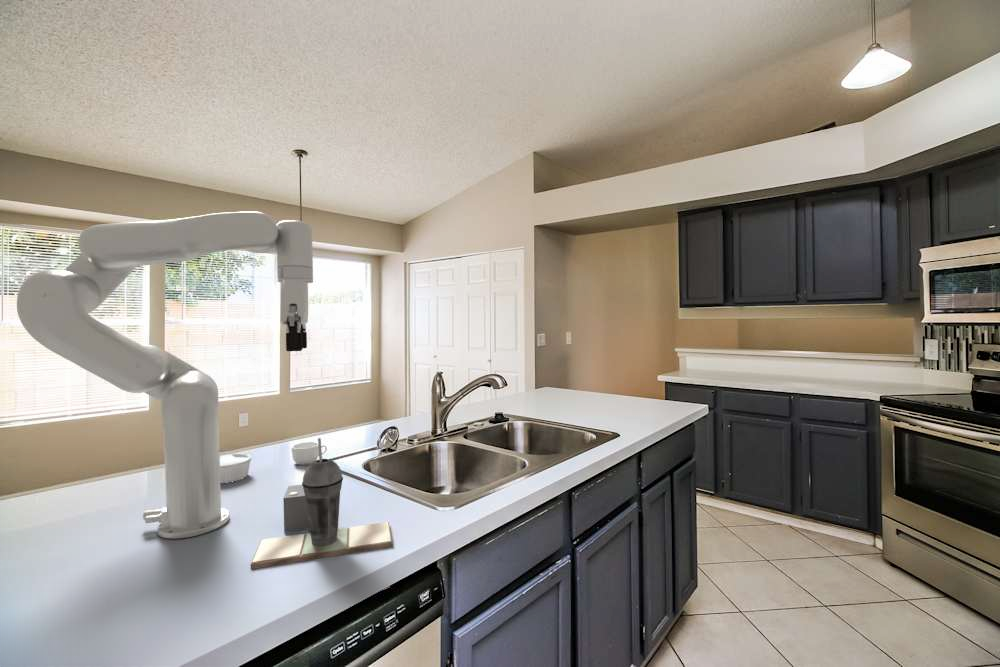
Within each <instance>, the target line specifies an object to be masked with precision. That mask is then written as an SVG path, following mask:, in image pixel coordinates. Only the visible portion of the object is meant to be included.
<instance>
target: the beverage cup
mask: <svg viewBox="0 0 1000 667" xmlns="http://www.w3.org/2000/svg"><path fill="white" fill-rule="evenodd" d="M317 442H318V447H319V456H318V458H319V459H317V460H316V461H315V462H313V463H312V464H308V466H307V468H306V470H305V471H304V474H303V477H302V483H301V485H302V486H303V489H304V493H305V496H306V504H307V512H308V520H309V528H310V529H309V533H310V536H311V540H312V544H313V545H314V546H326V545H329V544H332V543H333V542H335V541H336V539H337V531H338V529H339V517H340V516H339V515H340V503H341V502H340V500H341V490H342V484H343V480H344V478H343V473H342V470H341V468H340V466H339V465H338V463H337V462H335V461H333V460H331V459H328V458H323V454H322V452H323V451H322V448H321V445H322V439H321V438H320V437H319V438H317Z"/></svg>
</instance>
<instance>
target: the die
mask: <svg viewBox="0 0 1000 667" xmlns="http://www.w3.org/2000/svg"><path fill="white" fill-rule="evenodd" d="M302 530H310V528H309V520H308V512H307V504H306V496H305V493H304V489H303V486H302V484H296V485H288V486H287V488H286V491H285V494H284V496H283V531H284V532H283V533H289V532H294V531H296V532H297V531H302Z"/></svg>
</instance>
